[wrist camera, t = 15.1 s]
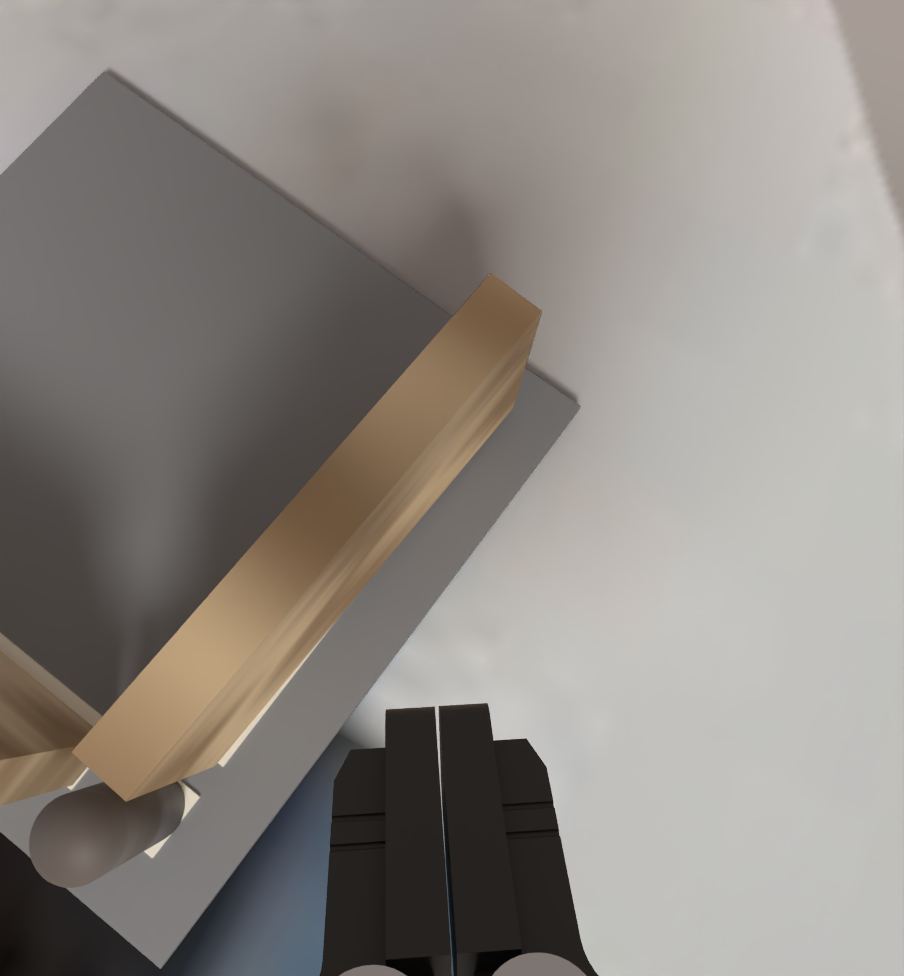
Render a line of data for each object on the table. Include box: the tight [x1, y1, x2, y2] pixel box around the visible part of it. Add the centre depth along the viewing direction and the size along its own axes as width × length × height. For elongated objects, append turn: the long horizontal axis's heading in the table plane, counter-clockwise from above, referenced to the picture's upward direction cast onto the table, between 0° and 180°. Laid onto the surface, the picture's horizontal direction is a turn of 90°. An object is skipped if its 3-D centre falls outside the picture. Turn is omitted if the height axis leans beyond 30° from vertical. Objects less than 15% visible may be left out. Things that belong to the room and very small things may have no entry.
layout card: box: [0, 72, 581, 969], centre depth 26 cm, size 20×20×1 cm
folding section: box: [72, 273, 542, 801], centre depth 21 cm, size 14×2×7 cm, turn 141°
